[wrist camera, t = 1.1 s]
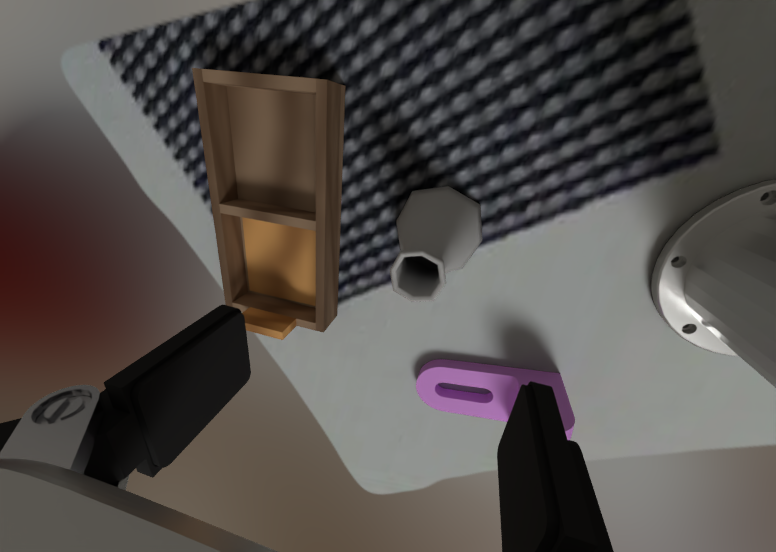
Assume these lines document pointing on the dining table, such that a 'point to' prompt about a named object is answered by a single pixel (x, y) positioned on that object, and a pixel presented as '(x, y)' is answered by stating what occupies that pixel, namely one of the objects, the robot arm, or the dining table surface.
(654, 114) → the dining table surface
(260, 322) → the divided wooden tray
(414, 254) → the flask
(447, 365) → the bracket
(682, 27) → the dining table surface
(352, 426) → the dining table surface
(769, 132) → the dining table surface
